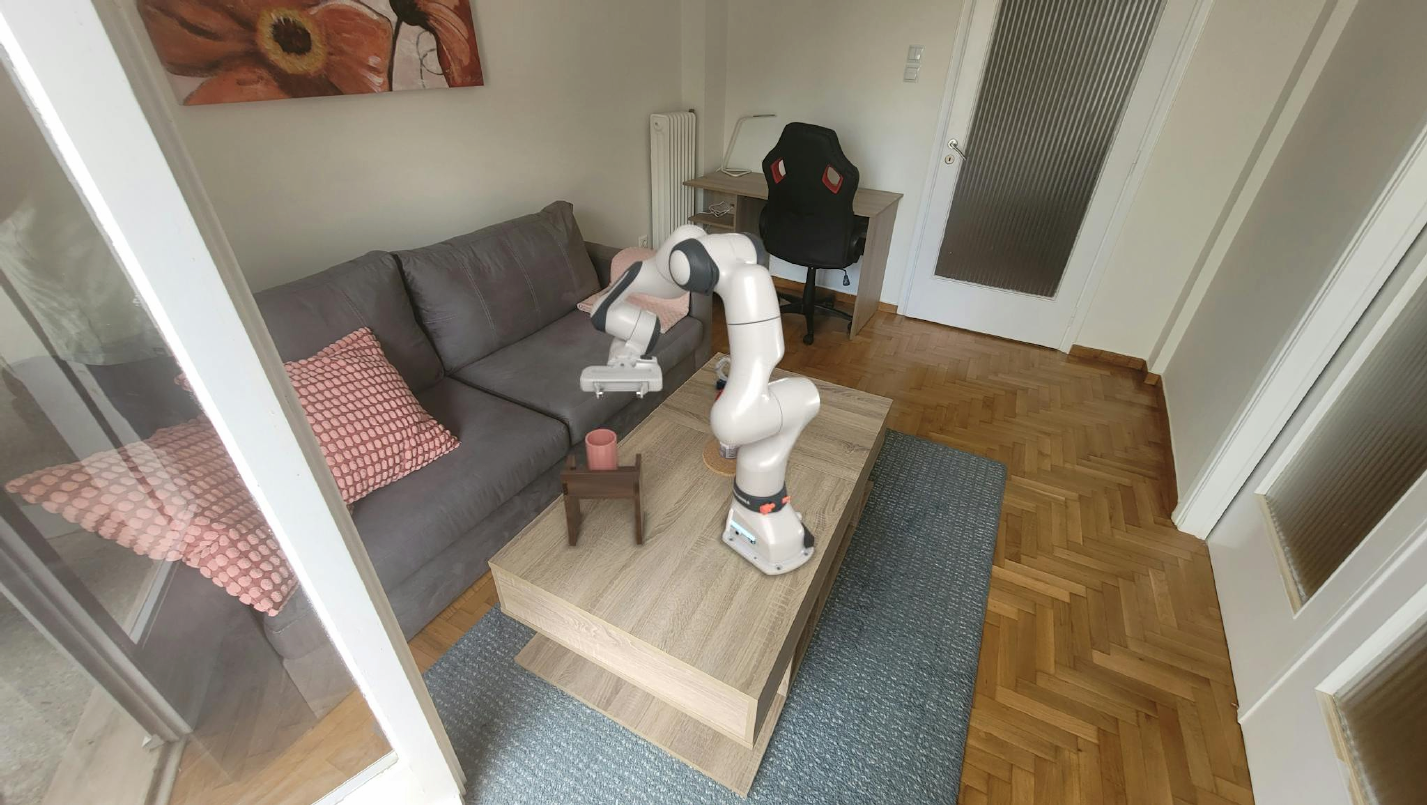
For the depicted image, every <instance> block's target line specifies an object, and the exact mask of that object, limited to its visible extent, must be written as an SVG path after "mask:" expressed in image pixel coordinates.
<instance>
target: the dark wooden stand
mask: <svg viewBox="0 0 1427 805" xmlns="http://www.w3.org/2000/svg"><path fill="white" fill-rule="evenodd" d="M575 458H576V457H575V454H574V453H573V454H571V453H570V454H568V456H567V460H566V464H565V468H564V469H561V470H560V475H559V476H560V482H561V490H562V496H563V501H564V502H563V503H564V510H565V518H566V525H567V532H568V538H569V546H571V547H574V546H575V547H576V546H577V539H578V535H579V531H580V525H581V520H582V509H581V501H580V500H623V499H624V500H625V499H627V500H629V499H632V500H633V499H634V514H635V534H636V545H643V538H644V537H643V536H644V523H645V522H644V520H645V519H644V518H645V507H644V485H643V484H644V483H643V461H642V460H643V459H642V453H635V462H634V465H618V467H619V470H588V465H587V466H585V465H584V466H576V459H575Z"/></svg>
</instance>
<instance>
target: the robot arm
mask: <svg viewBox="0 0 1427 805" xmlns="http://www.w3.org/2000/svg"><path fill="white" fill-rule="evenodd" d="M766 264H767V251H766V248H765V245H764V243H763V242H762V240H761V239H760V237H758V236H757V235H755V234H753V233H750V232H743V231H736V232H733V233H711V234H708V233H707V232H706V231H705V230H704V229H703V228H701V227H700V226H698V225H695V224H688V223H686V224H683V225H679V226H678V227H677V228H676V229H674V230H673V231H672V232H671V233H670V234H669V236H668V237H667V238H666V239H665V241H663V243H662V244H661V246H660V247H659V249H658V250H657V251H656V254H654V256H652V257H650V258H648V259H645V260H637V261H634V262H633V263H631V265H630V266H628V267H627V268H626V269H625V271H623V273H622V274H621V275H620V276H619V277H618V278H617V279H616V280H615V281H614V283H612V285H611V286H610V287H609V288H608V289H607V290H606V291H605V292H604V293H602V294H601V295H599V297H598V298H597V299H596V300H595V301H594V303H593V305H592V307H591V309H590V314H589V320H590V322H591V324H592V326H593V328H594V329H595V330H596V331H599V332H601V333H603V334H609V335H610V336H613V337H614V338H613V340H612V342H611V344H610V347H609V353H608V354H609V355H608V357H607V362H606V365H590V366H587V367H585V368H583V369H582V371H581V374H580V377H579V384H580V386H579V387H580V390H581V391H582V392H584V393H585V392H589V393H592V392H593V393H595V395H596V399H604V396H605V393H604V392H636V398H637V399H643V398H644V396H645V395H646V394H647V393H648V392H660V391H662V390H663V372H662V369H661V366H660V365H659V364H658V363H659V362H658V358H657V357H656V356H652V355H648V354H650V353H651V352H652V351H653V350H654V349H655V348H656V346H657V344H658V341H659V338H660V336H661V330H662V324H661V321H660V317H659V316H658V314H655V313H654V312H651V311H650V310H647V309H646V308H643V307H640V306H638V305H635V304H634V303H631V302H630V301H627V300H626V299H627V298H628V297H629V296H631V295H636V294H637V295H645V296H649V297H650V296H651V297H655V298H658V299H663V300H676V299H680V298H681V297H684V296H685V295H686V294H688V293H689V292H691V293H697V294H699V295H702V296H705V297H709V296H710V295H712V293H713V292H715V293H716V294H718V295H719V296H720V298H721V300H722V302H723V307H724V312H725V313H724V315H725V322H726V328H727V336H728V344H729V355H730V356H729V358H730V363H729V370H728V374H727V375H728V379H727V382H726V385H725V387H724V390H723V392H722V393H721V395H720V397H719V398H718V400H717V401H716V402H715V401H714V403H713V404H712V407H711V409H710V412H709V424H710V429H711V432H712V433H713V435H714V436H715V438H716V439H717V440H718V441H719V442H720V443H722V444H723V445H725V446H728V447H730V446H731V447H732V446H740V447H739V448H738V451H737V454H736V465H735V466H736V467H735V475H734V477H733V482H732V495H733V497H732V501H731V504H730V507H729V511H728V515H727V518H726V521H725V529H724V531H723V533H722V537H721V541H722V542H723V543H725V544H726V545H727V546H728V547H730V548H731V549H732V550H734V551H735V552H736V553H737V554H739V555H740V556H741V557H742V558H744V559H746V560H747V561H748V562H750V563H751V564H752V565H754V566H755V567H756V568H758V569H759V570H760V571H761V572H763V573H764V574H765V575H767V576H777V575H784V574H786V573H788V572H789V573H790V572H791V571H794V570H795V569H798V568H799V567H801V566H803V565H804V564H805V563H807V562H808V561H809V560H810V559H811V558H812V556H813V555H814V551H815V548H814V545H815V537H814V535H813V533H812V532H811V531H810V530H809V528H807V526H806V525H805V524H804V523H803V522H801V521H802V519H803V515H802V514H801V512H800V511H795V510H794V508H793V506H792V504H791V497H792V495H788V489H787V485H786V480H785V476H786V471H787V464H788V460H789V458H790V455H791V452H792V450H793V447H794V446H795V444H796V442H797V440H798V438H799V436H800V435H801V434H802V432H803V430H804V429H805V428H806V427H807V425H808V424H809V423H810V422H811V421H812V420H813V419H814V418H815V417H816V416H817V415H818V413H819V412H820V408H821V396H820V393H819V390H818V388H817V387H816V385H815V384H814V382H812V381H811V379H809V378H807V377H805V376H792V377H791V376H789V377H782V378H779V379H776V380H772V381H770V377H771V374H772V372H773V370H774V369H775V367H776V366H777V365H778V364H779V363H780V362H781V361H782V359H783V357H784V354H785V340H784V333H783V326H782V325H783V324H782V318H781V311H780V304H779V300H778V294H777V291H776V288H775V284H774V281H773V279H772V278H773V277H772V275H771V273H770V270H768V268H766V266H767V265H766Z"/></svg>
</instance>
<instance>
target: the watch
mask: <svg viewBox="0 0 1427 805" xmlns="http://www.w3.org/2000/svg"><path fill="white" fill-rule="evenodd" d="M727 363H729V364H730V356H727V357H726V356H724V357H722V358H721V359H720V360H719V361H718V362H717V363H716V364H715V366H714V369H715V372H716V375H717V376H718V378H719V379H718V380H716V390H717V391H720V390H722V389H724V387H725V385H726V382H727V379H728V375H729V374H724V373H723V371H722V369H723V368H724V366H726V364H727Z"/></svg>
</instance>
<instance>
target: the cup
mask: <svg viewBox="0 0 1427 805" xmlns="http://www.w3.org/2000/svg"><path fill="white" fill-rule="evenodd" d="M584 438H585V439H584V441H585V450H586V459H587V460H586V461H587V466H588V470H619V467H618V466H619V456H618V455H619V453H618V441H617V440H618V439H617V434H616V433H615V431H613V430H611V429H606V428H599V429H595V430H592V431H590V432H588V433H587V434H586V435H585V437H584Z"/></svg>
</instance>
